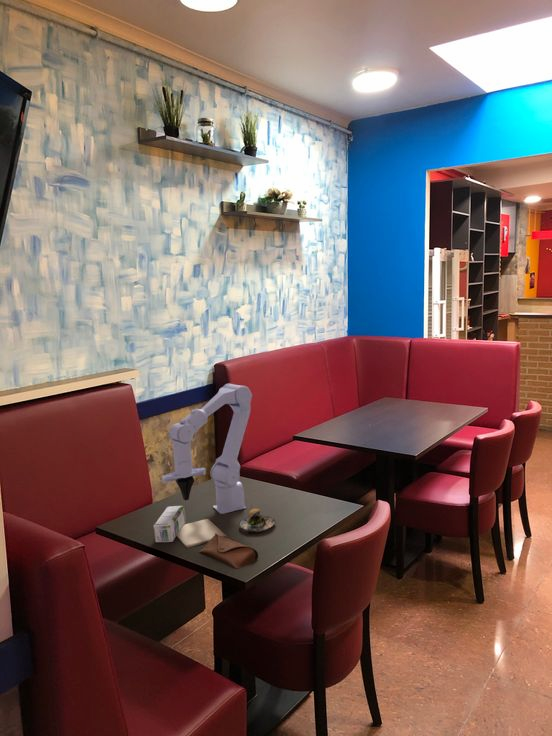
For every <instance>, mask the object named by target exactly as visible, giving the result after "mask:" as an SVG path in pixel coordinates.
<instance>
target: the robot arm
mask: <svg viewBox="0 0 552 736" xmlns="http://www.w3.org/2000/svg"><path fill="white" fill-rule="evenodd" d="M252 398H253V394H252V392H251V389H250V388H249V387H248V386H247V385H238V384H234V383H226V384H224V385H223V386H222V387H220V388H219V390H218V392H217V393H216V394H215V395H214V396H213V397H212V398H210V400H209V401H208V402H207V403H205V405H203V406H202V407H201V408H195V409H192V410H190V413H189V414H188V415H187V416H185V417H184V418H182V419H181V420H180V421H179V422H177V423H174V424H172V425H171V426H170V428H169V432H168V433H167V434H168V437H169V439H170V440H171V441H172V442H171V444H172V450H173V451H172V452H173V463H174V471H173V472H171V473H168V474H165V475H162V476H161V482H162V483H163V484H167V483H169V482H173V481H175V483H176V484H177V486H178V487H179V490H180V493H181V496H182V499H183V500H184V501H189V500H190V496H191V495H190V494H191V490H192V487H193V484H194V482H195V478H194V477H197V476H202V475H203V476H205V475H206V474H207V469H206V468H205V467H197V468H193V458H192V448H191V447H192V446H191V445H192V444H191V441H192V439H193V438H194V436H195V434H196V432H197V431H198V430H200V429H201V427H203V426H204V425H205V424H207V422H208V418H209V416H211V415H212V414H214V413H215V412H216V411H218V410H219V409H220V408H221V407H223V406H224V405H229V406H230V407H231V408H230V409H232V411H233V414H232V418H231V421H230V426H229V429H228V432H227V436H226V439H225V443H224V446H223V449H222V454H221V455H220V456H219V457H217V458H216V459H215V462H214V464H213V466H212V467H211V469H210V473H209V475H210V478H211V479H212V480H213V483H214V486H215V499H216V504H215V505H213V506H212V508H213V509H214V510H216V511H217V512H218V513H219V514H220V515H224V514H228V513H232V512H235V511H240V510H243V509H246V508H247V507H246V506H245V492H244V486H243V483H242V482H241V481H240V475H241V474H240V470H241V465H240V463H239V460H238V457H239V454H240V453H239V452H240V450H241V446H242V443H243V439H244V435H245V432H246V428H247V425H248V421H249V418H250V415H251V410H252V409H251V402H252Z"/></svg>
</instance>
